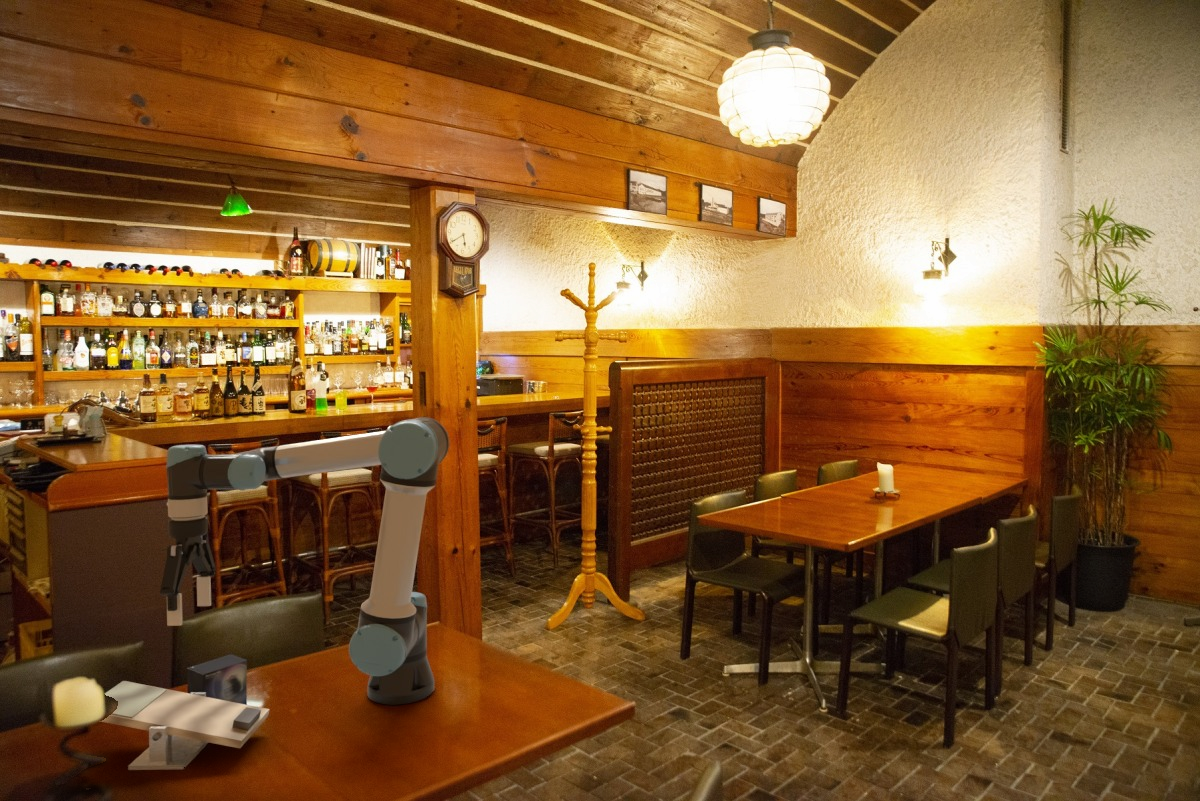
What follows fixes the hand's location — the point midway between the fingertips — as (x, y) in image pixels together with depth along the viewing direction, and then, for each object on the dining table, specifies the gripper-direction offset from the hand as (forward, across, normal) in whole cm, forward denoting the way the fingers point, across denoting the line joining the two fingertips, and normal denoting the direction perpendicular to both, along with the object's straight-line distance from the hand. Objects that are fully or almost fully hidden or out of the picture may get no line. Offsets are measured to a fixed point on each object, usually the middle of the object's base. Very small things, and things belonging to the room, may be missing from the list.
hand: (190, 615), depth 171 cm
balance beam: (+16, +15, +4) cm, 22 cm away
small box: (+22, -2, +4) cm, 23 cm away
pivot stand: (+22, +15, +4) cm, 27 cm away
